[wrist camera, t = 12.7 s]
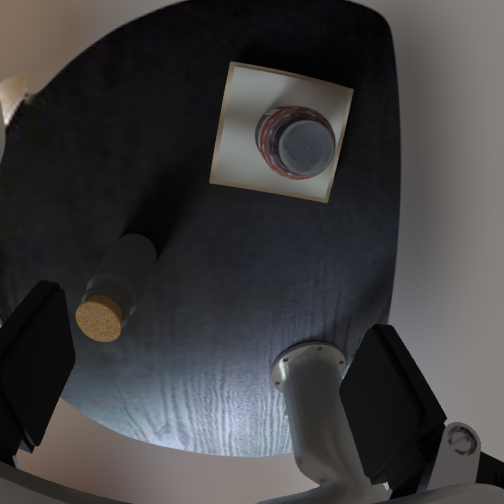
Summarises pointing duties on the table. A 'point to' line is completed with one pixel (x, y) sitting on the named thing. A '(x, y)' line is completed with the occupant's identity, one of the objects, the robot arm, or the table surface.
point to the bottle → (116, 288)
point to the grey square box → (248, 115)
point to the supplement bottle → (295, 141)
